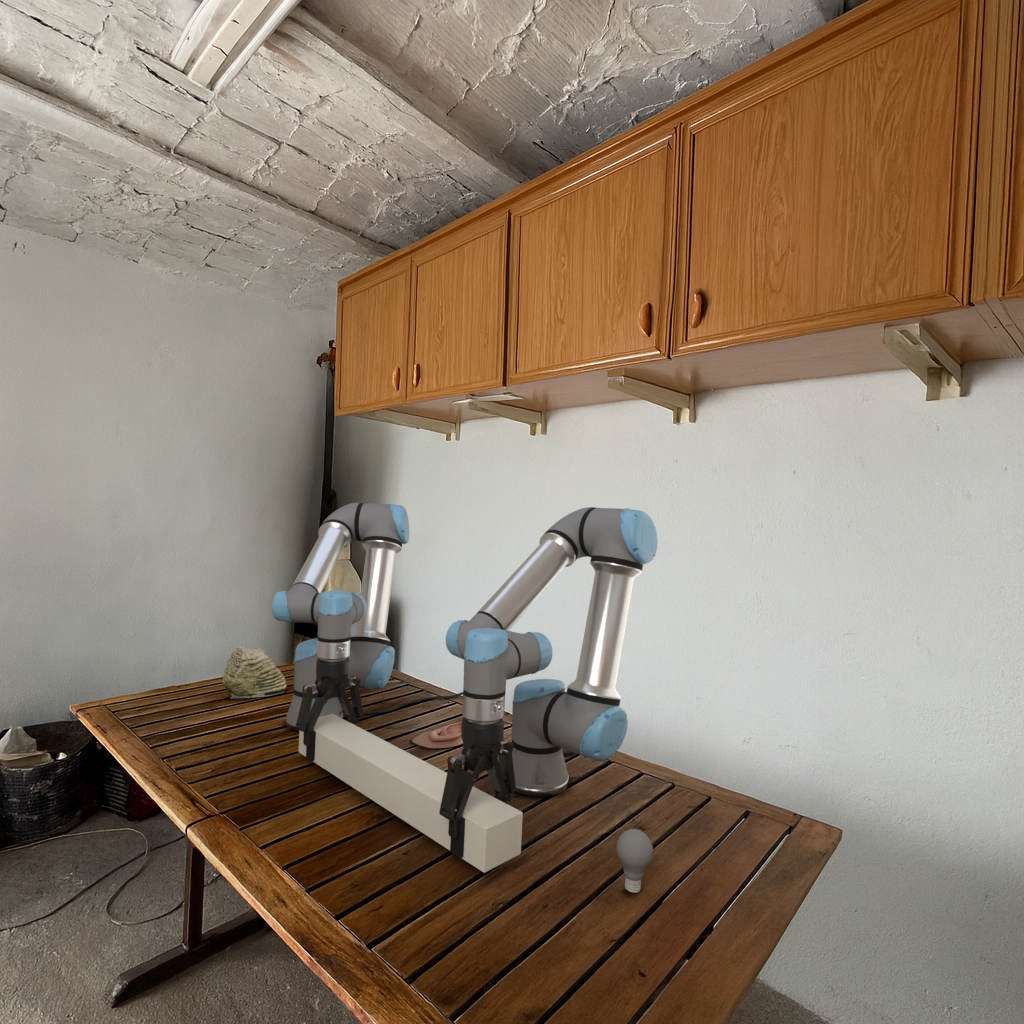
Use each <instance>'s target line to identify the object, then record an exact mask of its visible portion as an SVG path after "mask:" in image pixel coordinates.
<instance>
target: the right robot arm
mask: <svg viewBox="0 0 1024 1024" xmlns="http://www.w3.org/2000/svg"><path fill="white" fill-rule="evenodd" d="M657 550H658V533H657V528H656V526H655V523H654V521H653V519H652V517H651V516H650V515H649V513H647V512H646V511H643V510H640V509H639V510H638V509H632V508H628V507H627V508H617V507H616V508H615V507H614V508H613V507H612V508H611V507H595V506H592V507H591V506H589V507H583V508H579V509H577V510H573V511H572V512H570V513H568V514H567V515H565V516H564V517H562V518H560V519H558V521H556V522H555V523H554V524H552V525H551V526H550V527H549V528H548V529H547V530H546V531H545V532H544V533H543V534H542V536H540V538H539V545H538V546H537V547H536V548H535V549H534V550H533V551H532V553H531V554H529V556H528V557H527V558H526V559H525V560H524V561H523V562H522V563H521V564H520V565H519V566H518V568H517V569H516V570H515V571H514V572H513V573H512V574H511V575H510V577H508V578H507V579H506V580H505V582H504V583H503V584H502V585H501V586H500V587H499V588H498V589H497V590H496V591H495V592H494V594H493V595H492V596H490V598H489V599H487V601H486V602H485V603H484V604H483V605H482V606H481V608H480V609H479V610H478V611H477V612H476V613H475V614H474V615H473V616H472V618H470V619H469V620H467V619H463V620H462V619H459V620H456V621H454V622H452V623H451V625H450V626H449V627H448V629H447V631H446V635H445V647H446V648H447V651H448V652H449V653H450V654H451V656H452V655H453V656H455V657H457V658H459V659H461V660H463V686H462V687H463V689H462V692H463V695H462V702H461V703H462V705H461V715H462V719H461V722H462V725H461V738H462V741H463V743H462V749H461V751H460V754H458V755H456V756H453V755H449V756H448V757H447V772H446V773H447V777H446V782H445V787H444V792H443V797H442V801H441V806H440V811H439V814H440V815H442V816H443V817H445V818H447V819H448V820H449V830H448V834H449V836H450V837H451V842H450V850H449V852H450V853H452V854H453V855H455V856H456V857H457V858H459V859H462V857H464V836H465V818H463V817H462V815H463V812H464V809H465V806H466V804H467V801H468V798H469V795H470V793H471V790H472V787H474V784H475V782H476V781H478V780H479V777H480V774H482V773H484V772H485V771H486V773H487V776H488V778H489V781H490V783H491V787H492V789H493V792H494V795H495V796H493V797H494V798H496V799H498V800H500V801H502V802H504V803H506V804H508V803H510V802H511V801H512V799H513V796H512V795H514V794H519V795H522V796H528V797H536V798H537V797H541V798H542V797H551V796H555V795H559V794H561V793H563V792H564V791H566V790H567V789H568V787H569V777H570V776H569V772H568V769H567V765H566V760H565V756H568V755H572V754H573V753H574V754H577V755H580V756H581V757H583V758H585V759H591V760H595V761H598V762H599V761H600V762H601V761H602V762H603V761H607V760H609V759H611V758H612V757H613V756H614V755H615V754H616V753H617V751H618V750H619V749H620V748H621V746H622V744H623V743H624V741H625V738H626V735H627V730H628V727H629V725H628V724H629V720H628V714H627V712H626V710H624V709H623V707H621V705H620V704H621V700H622V699H621V698H622V697H621V695H620V693H619V692H618V691H617V687H616V685H617V680H618V673H619V669H620V661H621V656H622V650H623V645H624V639H625V633H626V628H627V627H626V626H627V622H628V614H629V609H630V603H631V598H632V592H633V587H634V580H635V578H636V577H638V576H639V575H641V574H642V573H643V569H644V565H647V564H649V563H651V562H652V561H653V560H654V557H656V554H657ZM586 557H587V558H590V562H589V564H590V565H591V567H592V568H593V570H594V577H593V584H592V589H591V595H590V600H589V606H588V611H587V616H586V622H585V627H584V632H583V638H582V644H581V649H580V655H579V661H578V666H577V672H576V678H575V679H574V681H572V682H570V683H569V684H568V685H567V689H566V685H565V682H563V681H562V680H560V679H555V678H554V679H553V678H536V679H529V680H524V681H521V682H519V683H518V684H516V685H515V687H514V690H513V697H512V711H511V712H512V713H511V741H509V740H507V739H504V733H505V720H504V717H505V706H506V693H507V691H506V690H507V689H506V688H507V681H508V680H512V679H514V678H519V677H525V676H528V675H533V674H534V675H535V674H537V673H538V672H541V671H543V670H545V669H547V668H548V667H549V665H551V663H552V660H553V652H554V651H553V646H552V643H551V641H550V640H549V638H548V636H546V635H545V634H544V633H542V632H539V631H526V632H525V633H521V632H515V631H511V630H512V628H513V627H514V626H515V625H516V623H518V622H519V620H520V619H521V618H522V617H523V616H524V614H525V613H526V612H527V611H528V610H529V609H530V608H531V606H532V605H533V604H534V603H535V602H536V600H537V599H538V598H539V597H540V596H541V595H542V593H543V592H544V591H545V590H546V589H547V588H548V587H549V585H551V583H552V582H553V581H554V580H555V579H556V578H557V576H558V575H559V574H560V573H561V572H562V570H563V569H564V568H567V567H571V566H572V565H573V564H574V563H575V562H576V561H577V560H579V559H582V558H586ZM563 749H564V750H566V751H564V752H563ZM455 809H456V810H457V811H456V810H455Z"/></svg>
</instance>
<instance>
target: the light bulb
mask: <svg viewBox="0 0 1024 1024" xmlns="http://www.w3.org/2000/svg"><path fill="white" fill-rule="evenodd" d="M615 849H616V854H617V857H618V859H619V861H620V863H621V865H622V867H623V873H624V874H623V875H624V876H625V878H624V888H625V890H627V891H628V892H630V893H634V894H635V893H639V892H640V891H641V889H642V887H641V886H642V879H643V877H644V875H645V871H646V868H647V867H648V866H649V864H650V863H651V861H652V859H653V855H654V847H653V843H652V841H651V838H649V836H648V835H647V834H646V833H645V832H643V831H642V830H641V829H636V828H629V829H627V830H625V831H623V832H622V833H621V834H620V835H619V837H618V839H617V841H616V847H615Z"/></svg>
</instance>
